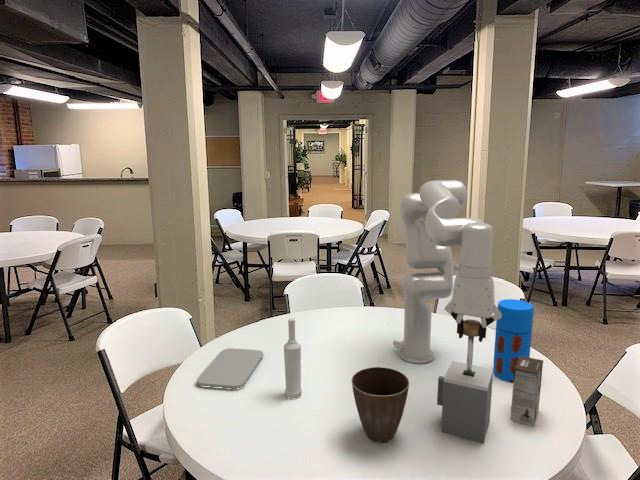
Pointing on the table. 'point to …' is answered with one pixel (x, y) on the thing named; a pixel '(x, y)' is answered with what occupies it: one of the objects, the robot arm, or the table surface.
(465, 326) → the plunger
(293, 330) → the bottle
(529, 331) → the thermos
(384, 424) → the plant pot
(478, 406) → the block
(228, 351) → the tablet
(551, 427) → the table surface
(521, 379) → the coffee box
